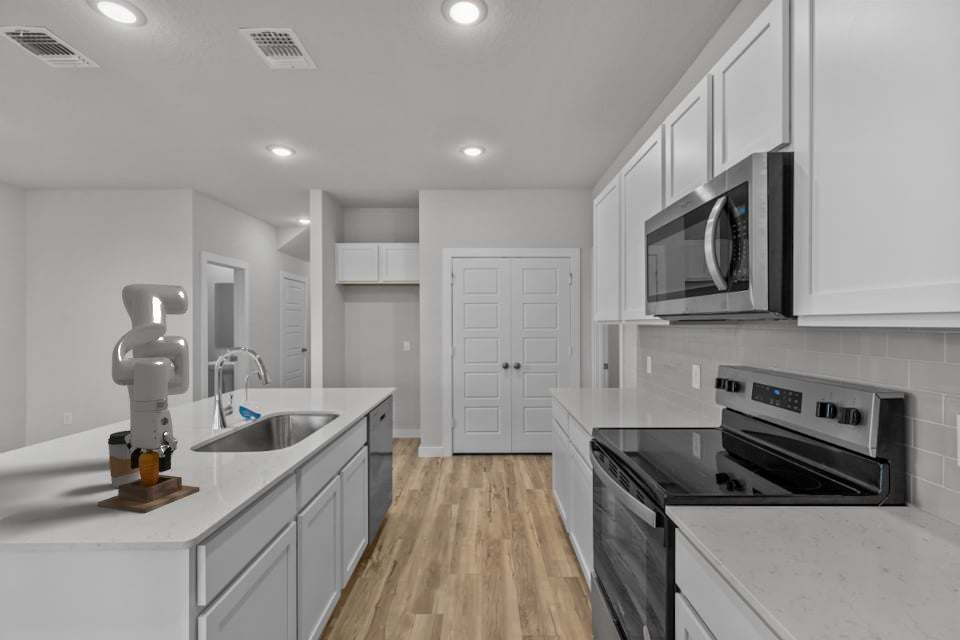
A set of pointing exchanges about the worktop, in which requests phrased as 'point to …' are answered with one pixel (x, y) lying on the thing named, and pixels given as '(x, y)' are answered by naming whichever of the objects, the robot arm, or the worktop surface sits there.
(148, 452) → the carrot
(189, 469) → the worktop surface
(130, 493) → the walnut stand
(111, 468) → the coffee cup
